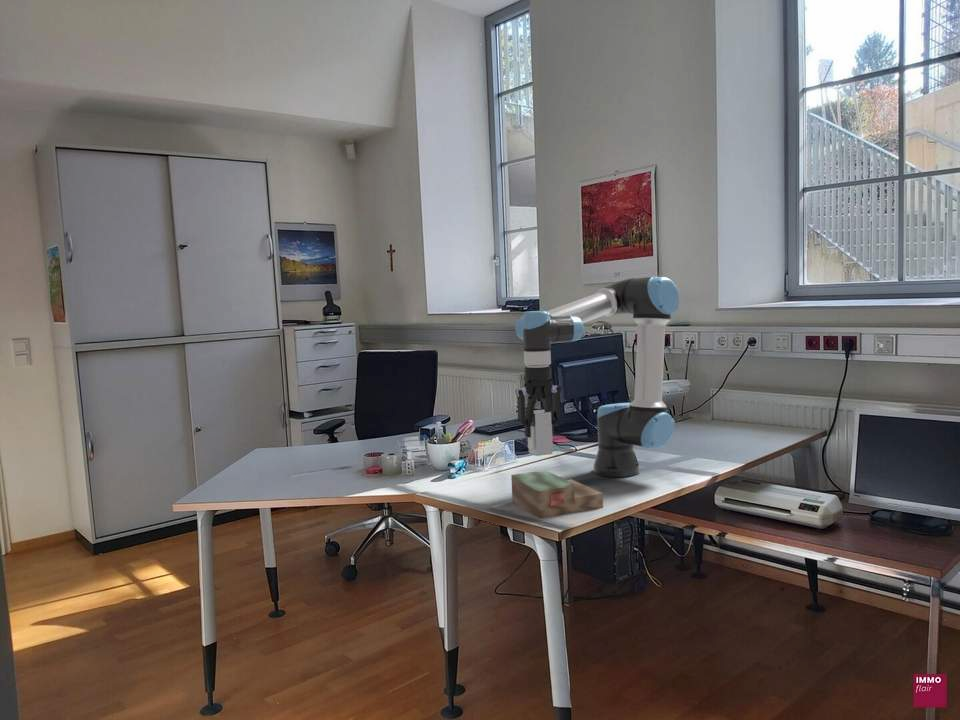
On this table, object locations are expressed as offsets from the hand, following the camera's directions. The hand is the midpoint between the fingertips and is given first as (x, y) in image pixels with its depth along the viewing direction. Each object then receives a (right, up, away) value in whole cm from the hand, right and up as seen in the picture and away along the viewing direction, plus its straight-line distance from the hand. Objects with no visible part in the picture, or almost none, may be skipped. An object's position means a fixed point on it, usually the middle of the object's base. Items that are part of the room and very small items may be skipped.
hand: (540, 447), depth 207 cm
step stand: (+5, -17, +3) cm, 18 cm away
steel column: (0, -2, 0) cm, 2 cm away
